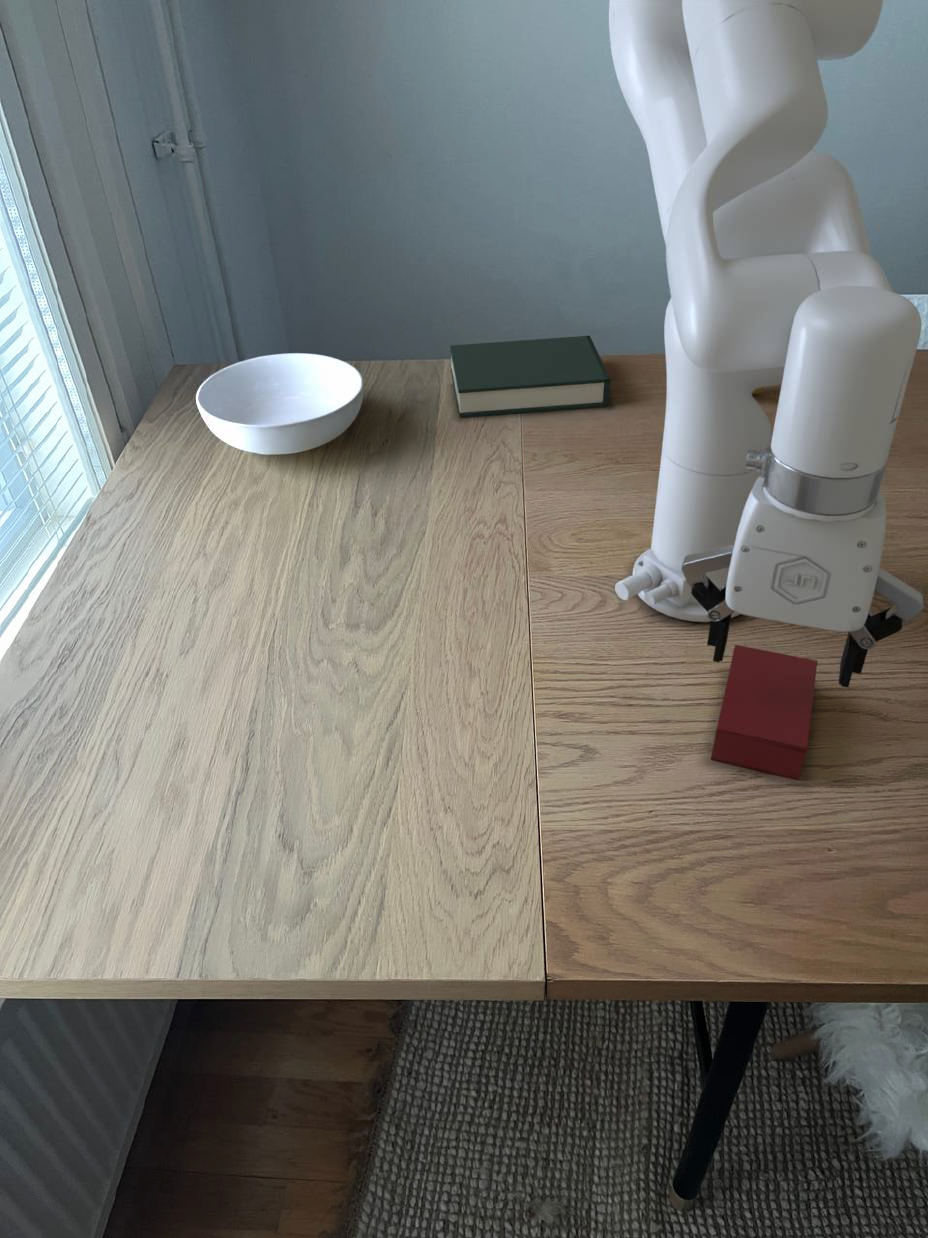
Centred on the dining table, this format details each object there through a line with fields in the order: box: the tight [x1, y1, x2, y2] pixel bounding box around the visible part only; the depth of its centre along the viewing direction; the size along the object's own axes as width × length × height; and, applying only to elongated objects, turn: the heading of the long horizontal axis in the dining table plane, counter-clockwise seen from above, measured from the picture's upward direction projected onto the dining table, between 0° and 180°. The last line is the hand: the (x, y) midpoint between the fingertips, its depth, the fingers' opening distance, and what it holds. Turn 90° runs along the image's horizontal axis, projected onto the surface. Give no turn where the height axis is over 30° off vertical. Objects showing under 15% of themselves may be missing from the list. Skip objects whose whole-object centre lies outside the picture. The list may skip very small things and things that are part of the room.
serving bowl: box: [195, 352, 365, 456], centre depth 121 cm, size 21×21×7 cm
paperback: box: [710, 644, 818, 781], centre depth 80 cm, size 11×7×4 cm, turn 160°
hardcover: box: [449, 335, 611, 419], centre depth 130 cm, size 20×14×4 cm
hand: (780, 663), depth 76 cm, fingers open, 9 cm apart
